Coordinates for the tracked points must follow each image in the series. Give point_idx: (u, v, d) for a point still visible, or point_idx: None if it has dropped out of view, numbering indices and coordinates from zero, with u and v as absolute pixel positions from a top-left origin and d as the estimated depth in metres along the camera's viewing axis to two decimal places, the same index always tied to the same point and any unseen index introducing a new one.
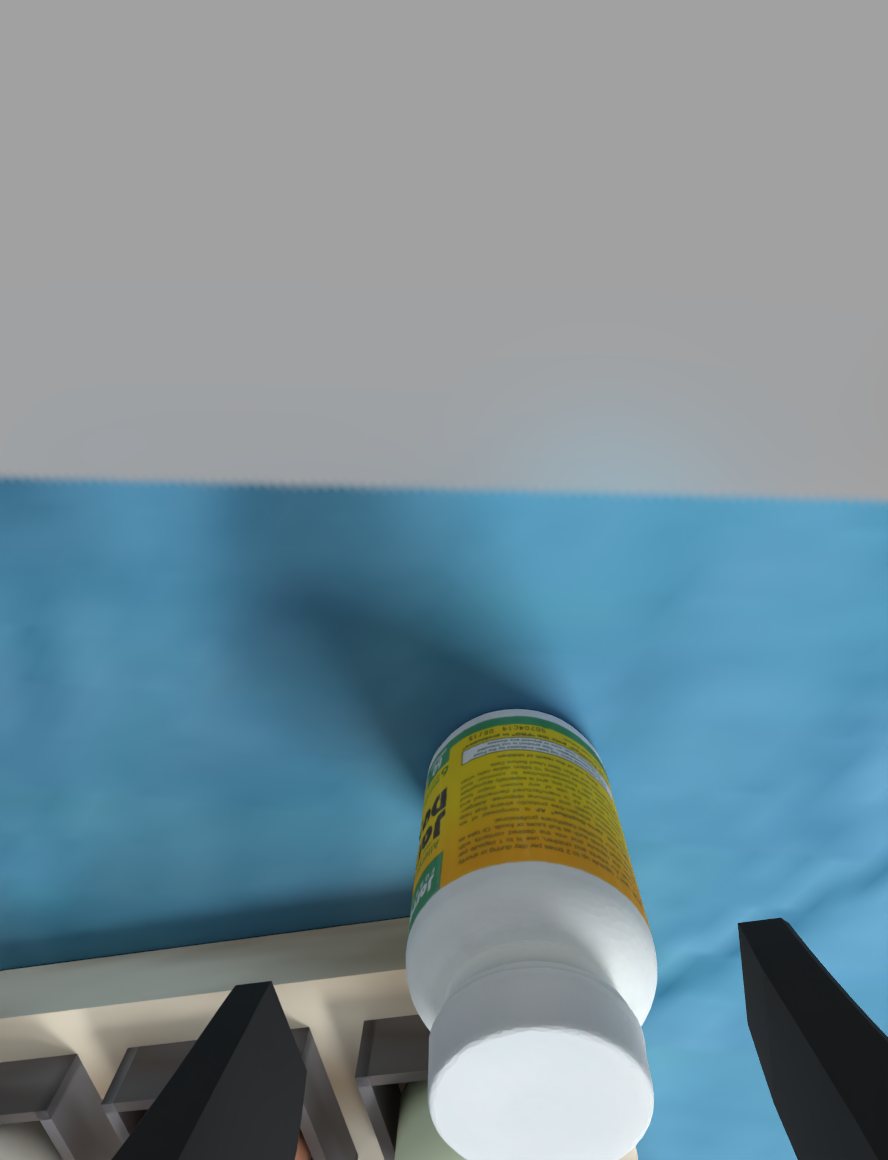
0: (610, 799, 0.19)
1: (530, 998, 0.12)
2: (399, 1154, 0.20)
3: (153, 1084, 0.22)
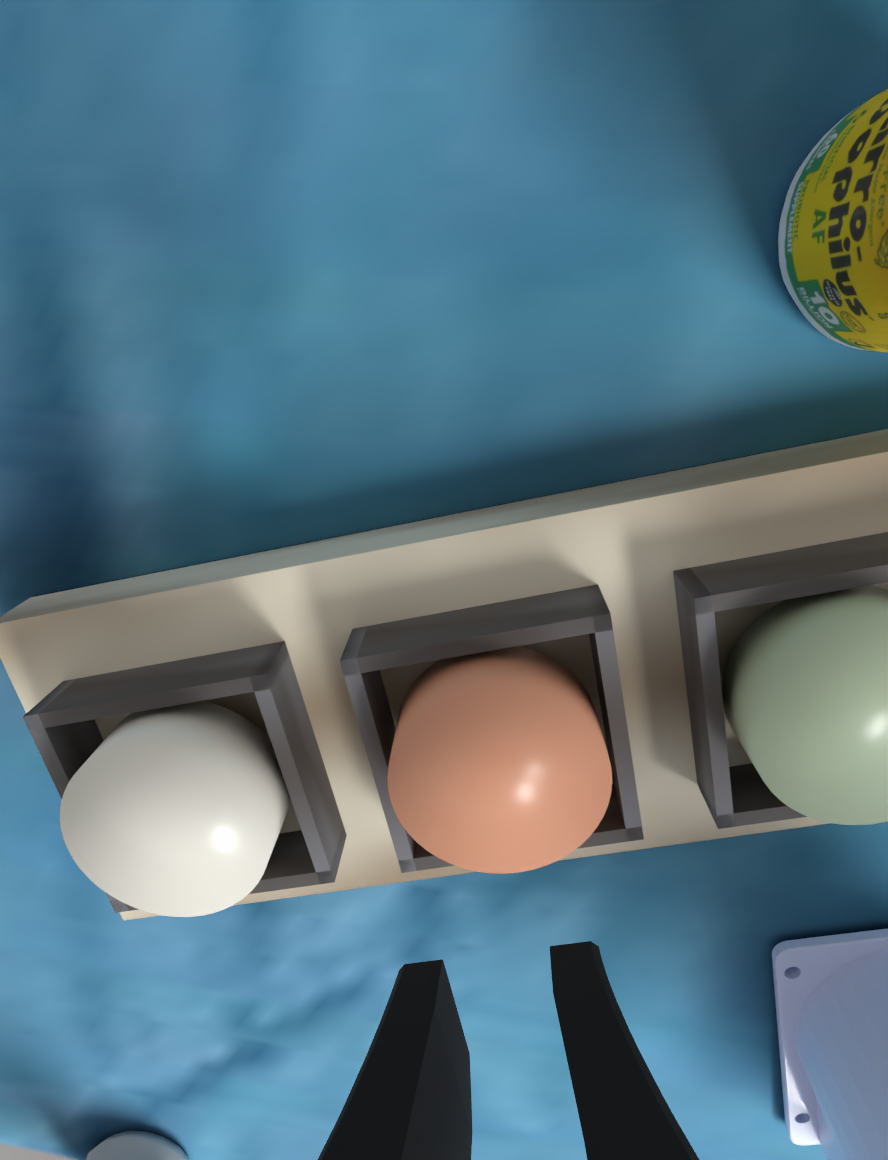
0: None
1: None
2: (768, 682, 0.15)
3: (405, 641, 0.17)
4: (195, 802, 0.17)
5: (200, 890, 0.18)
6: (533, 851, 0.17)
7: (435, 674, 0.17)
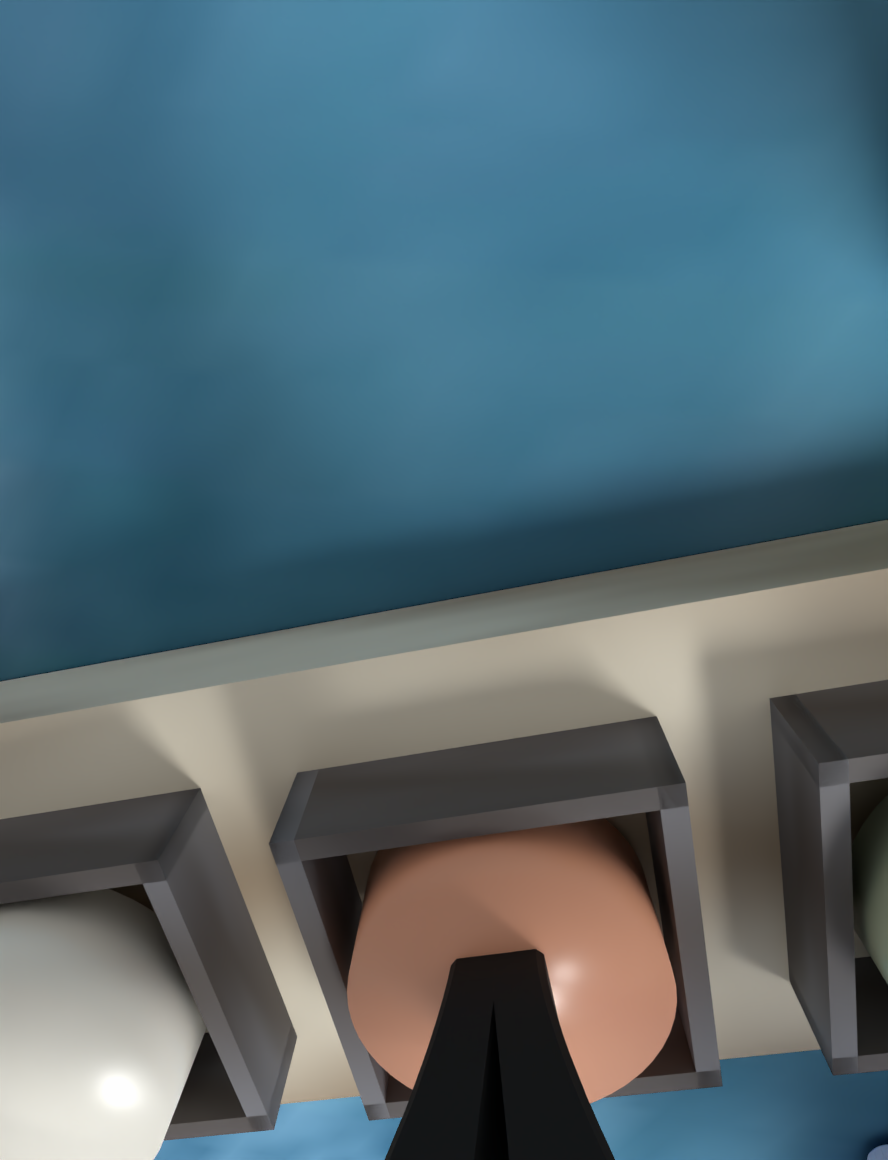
0: None
1: None
2: None
3: (369, 809, 0.11)
4: (51, 1056, 0.11)
5: None
6: None
7: None
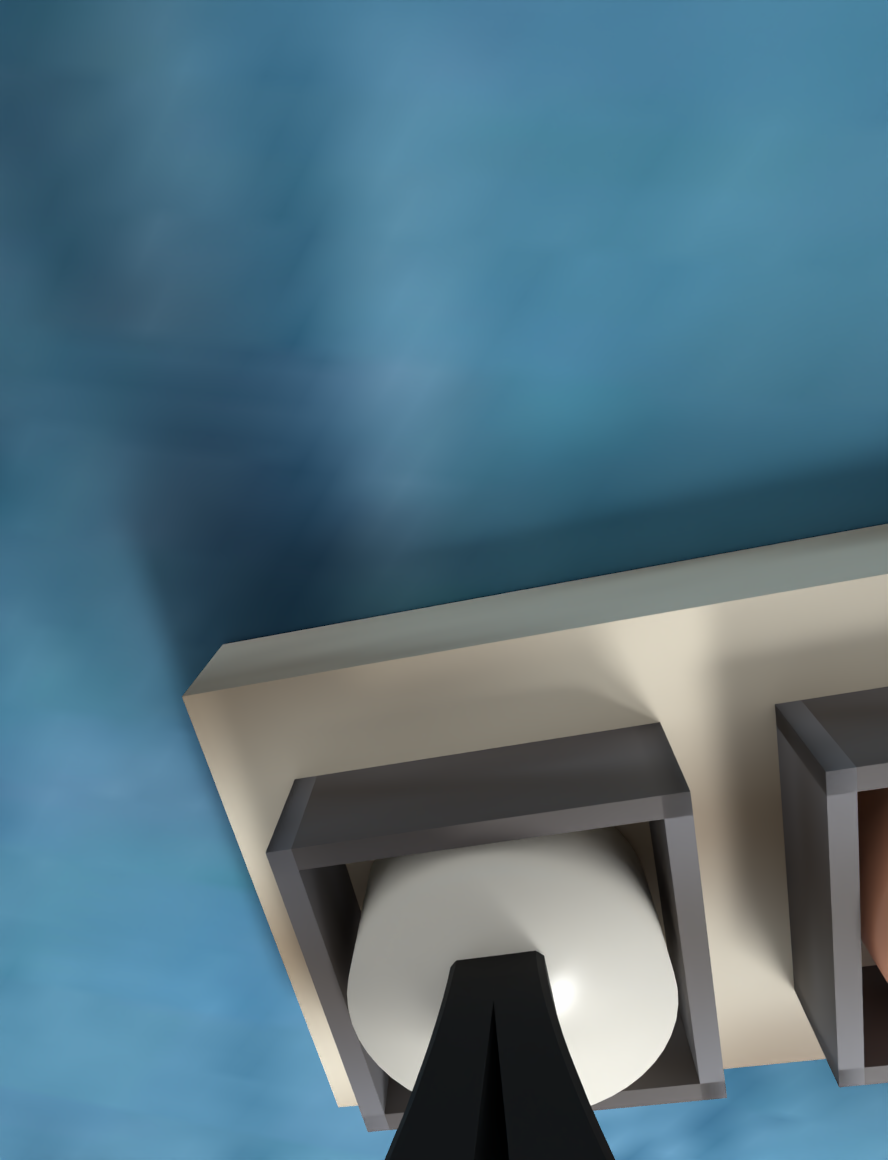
0: None
1: None
2: None
3: None
4: (570, 961, 0.11)
5: None
6: None
7: None
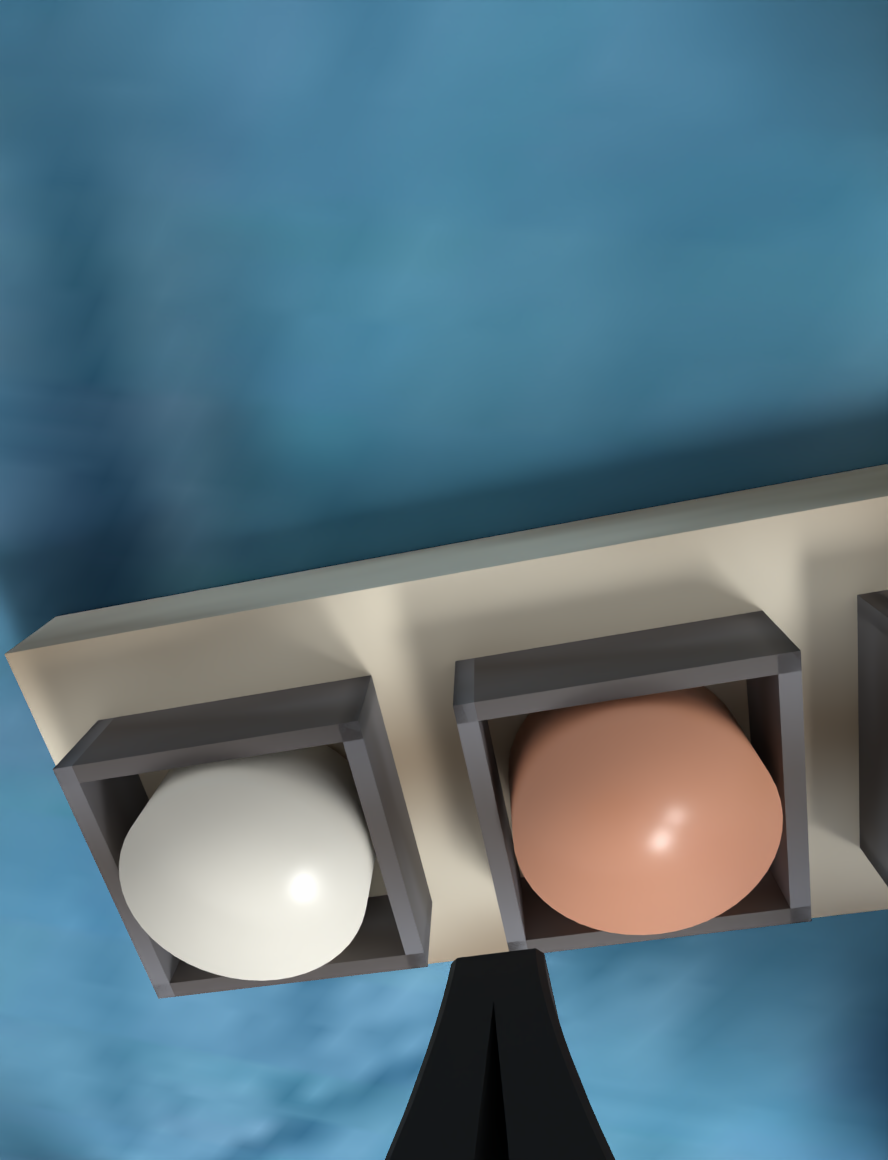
0: None
1: None
2: None
3: (532, 680, 0.14)
4: (281, 851, 0.14)
5: (280, 950, 0.15)
6: (679, 911, 0.14)
7: None
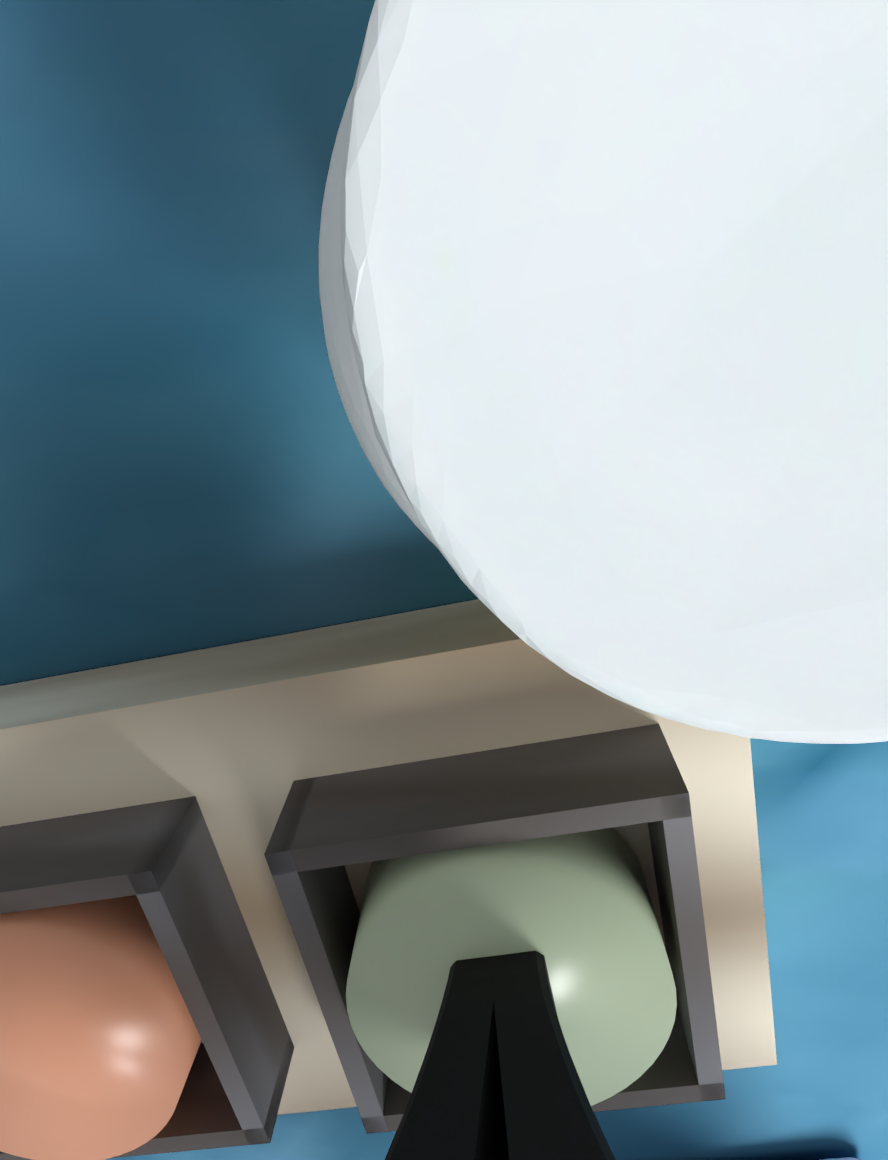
0: None
1: None
2: (357, 948, 0.11)
3: None
4: None
5: None
6: (99, 1139, 0.12)
7: None
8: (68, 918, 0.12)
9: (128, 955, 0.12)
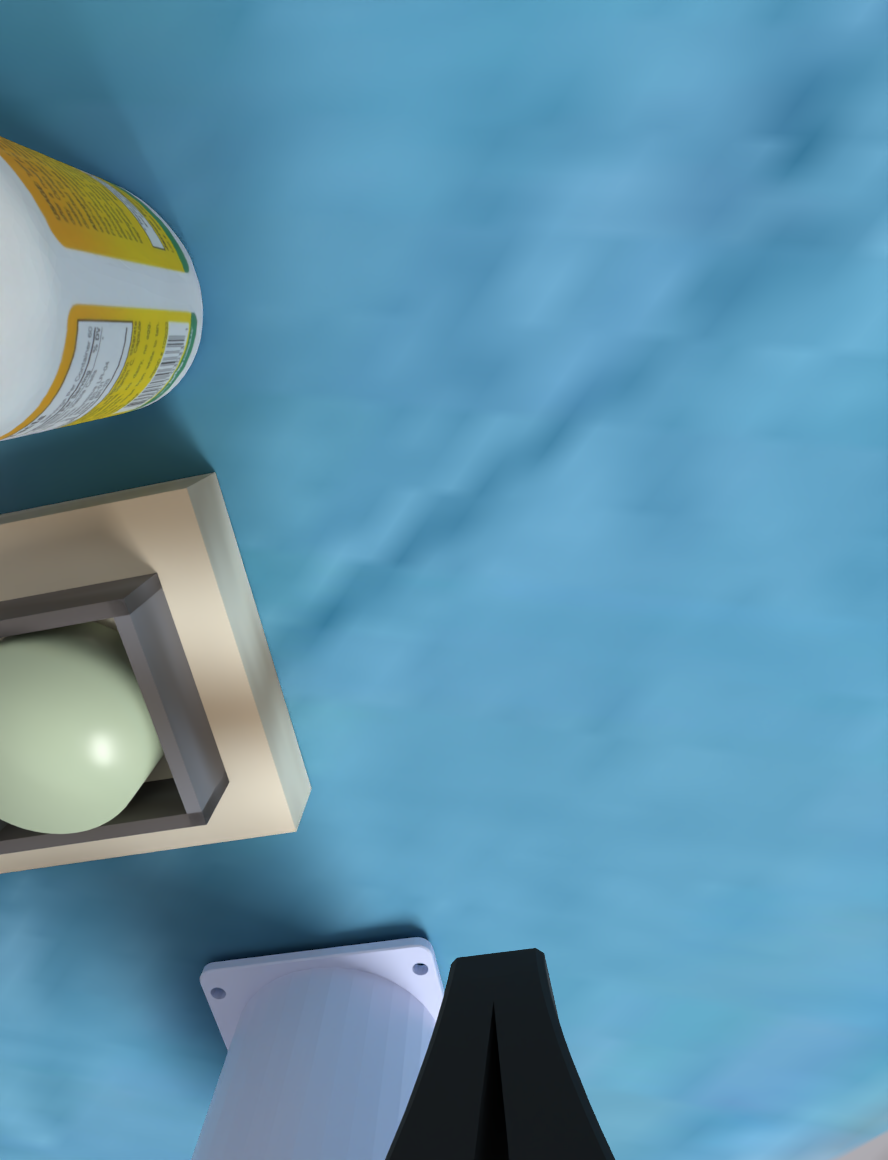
0: (142, 230, 0.15)
1: None
2: None
3: None
4: None
5: None
6: None
7: None
8: None
9: None
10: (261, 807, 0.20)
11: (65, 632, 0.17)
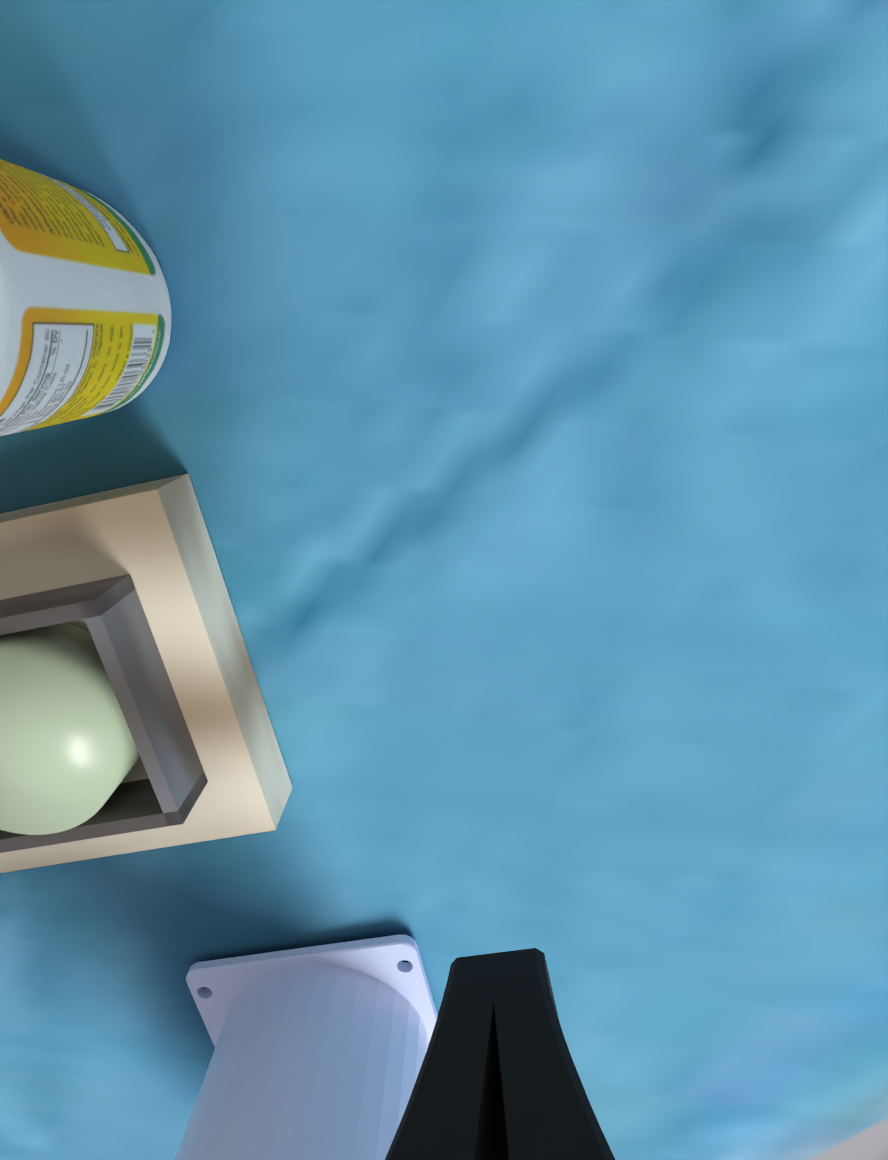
0: (104, 233, 0.15)
1: None
2: None
3: None
4: None
5: None
6: None
7: None
8: None
9: None
10: (240, 806, 0.20)
11: (39, 634, 0.17)
